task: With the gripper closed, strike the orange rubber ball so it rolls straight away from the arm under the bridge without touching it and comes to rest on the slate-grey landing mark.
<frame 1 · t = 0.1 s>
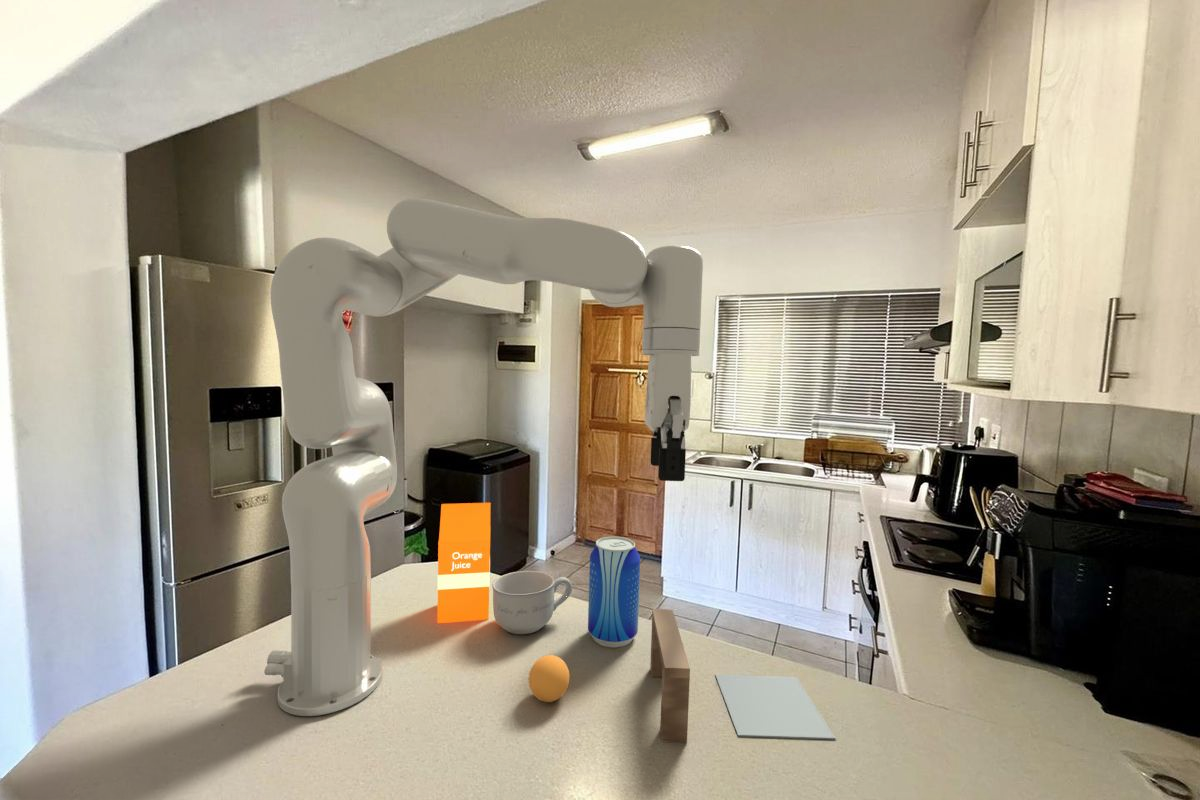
hand: (666, 472, 65), 31 cm above the counter, tool pointing down, fingers open, 9 cm apart
orange juice: (464, 611, 89), on the counter
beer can: (612, 637, 82), on the counter
ball: (549, 678, 66), on the counter
teacup: (532, 625, 85), on the counter
landing mark: (769, 704, 66), on the counter
bridge: (666, 701, 66), on the counter
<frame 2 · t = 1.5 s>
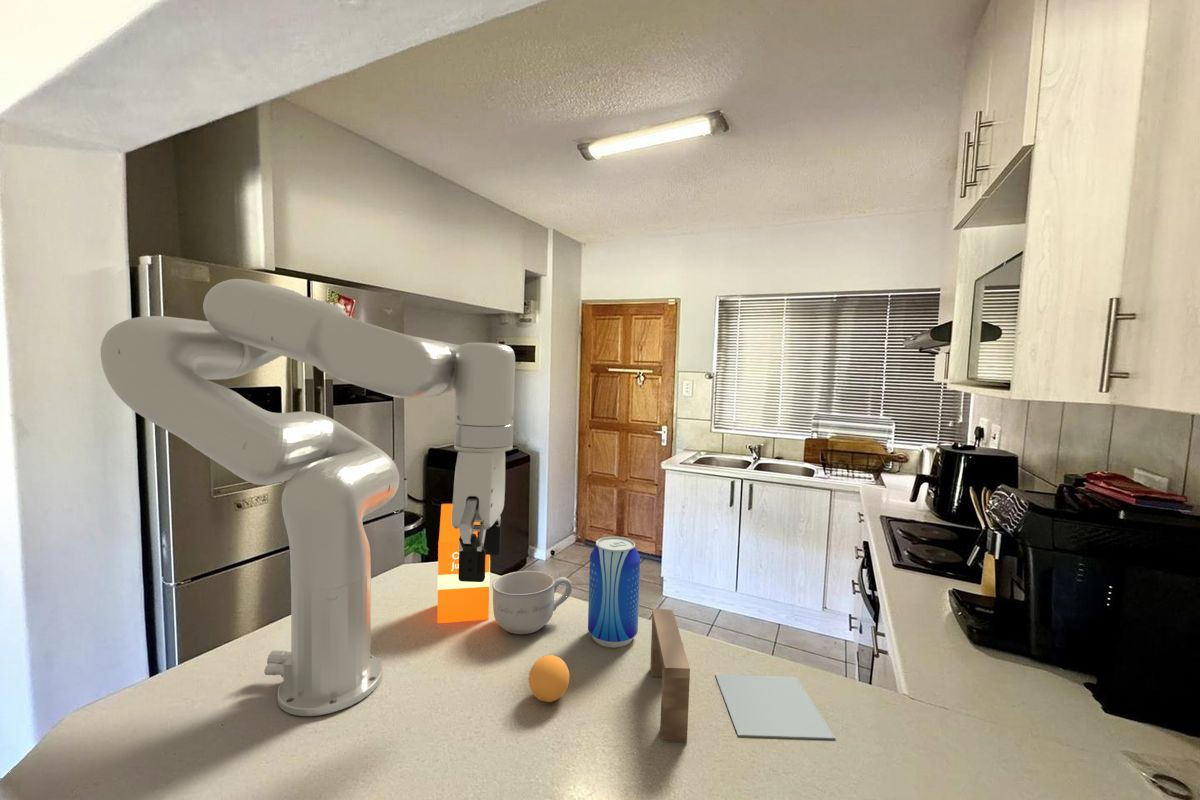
hand: (480, 566, 65), 18 cm above the counter, tool pointing down, fingers open, 8 cm apart
nothing on the counter moved.
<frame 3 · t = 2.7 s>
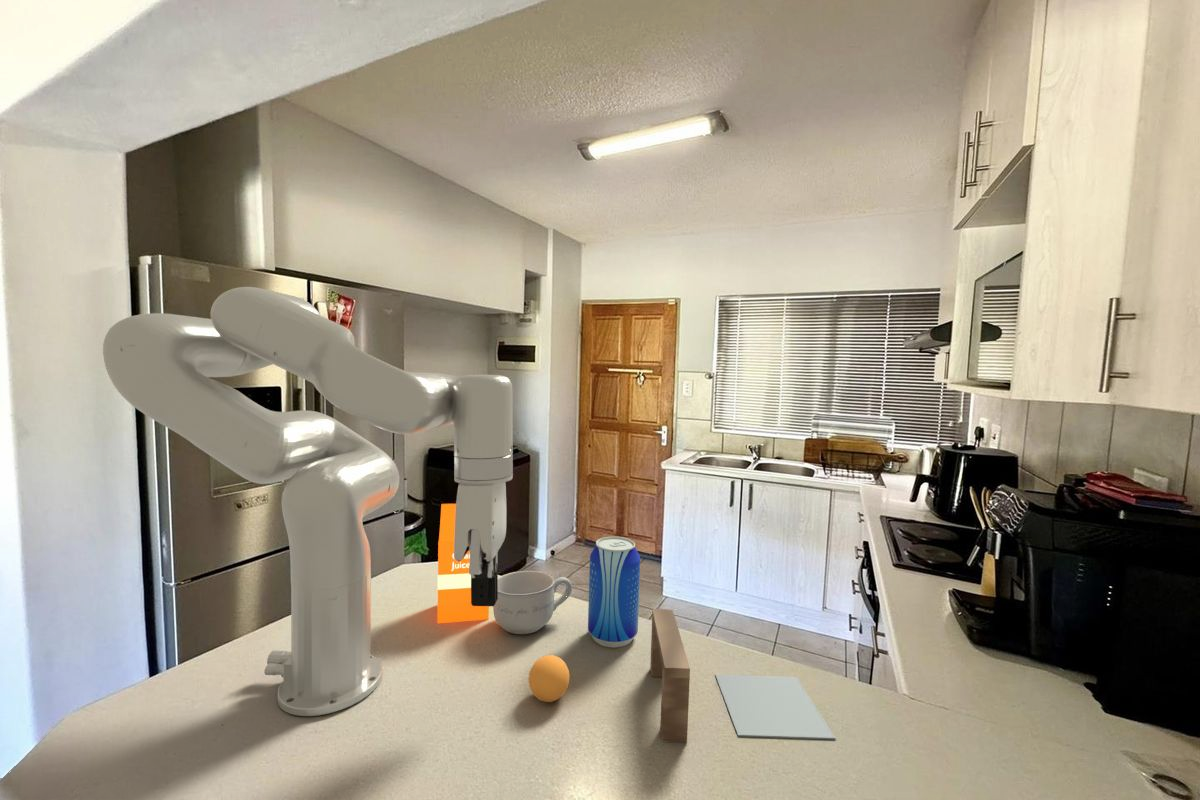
hand: (484, 603, 65), 13 cm above the counter, tool pointing down, fingers closed
nothing on the counter moved.
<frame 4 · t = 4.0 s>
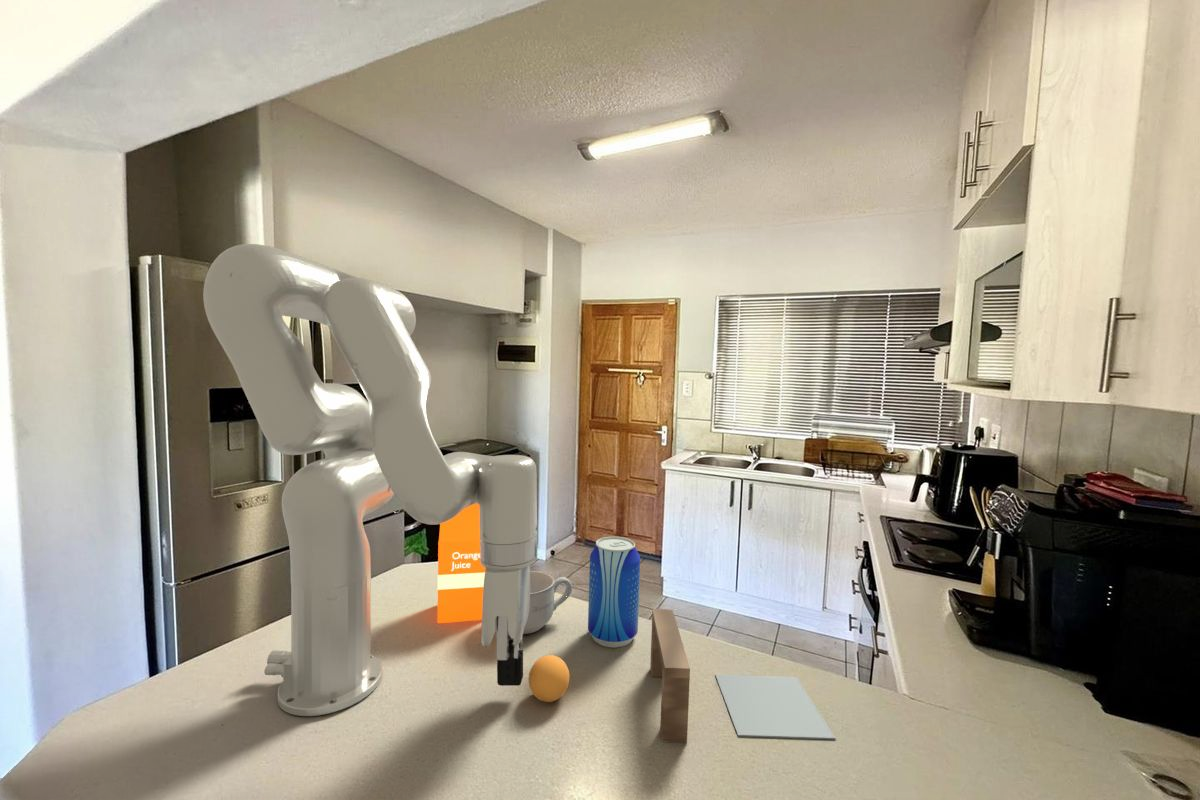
hand: (510, 681, 66), 2 cm above the counter, tool pointing down, fingers closed
nothing on the counter moved.
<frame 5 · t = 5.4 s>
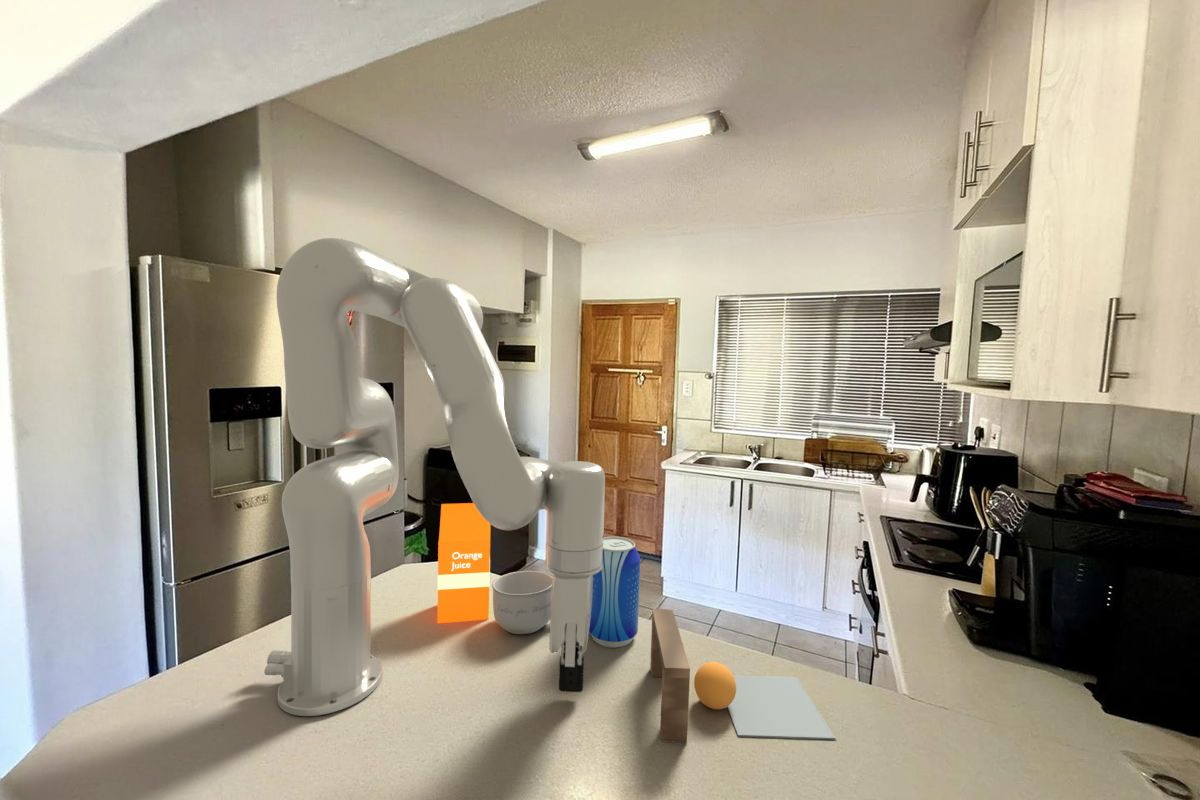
hand: (571, 687, 66), 2 cm above the counter, tool pointing down, fingers closed
ball: (714, 685, 65), on the counter
everything else where it was.
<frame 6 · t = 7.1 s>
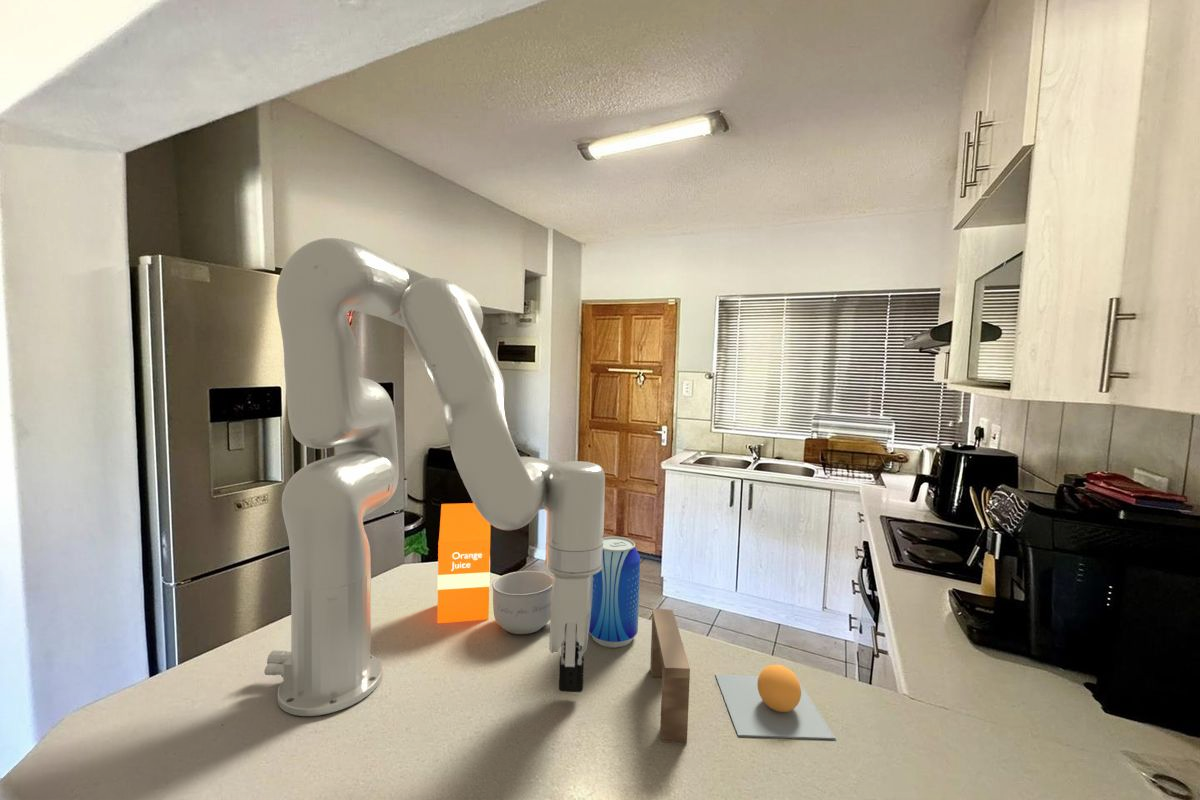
hand: (571, 687, 66), 2 cm above the counter, tool pointing down, fingers closed
ball: (778, 687, 65), on the counter
everything else where it was.
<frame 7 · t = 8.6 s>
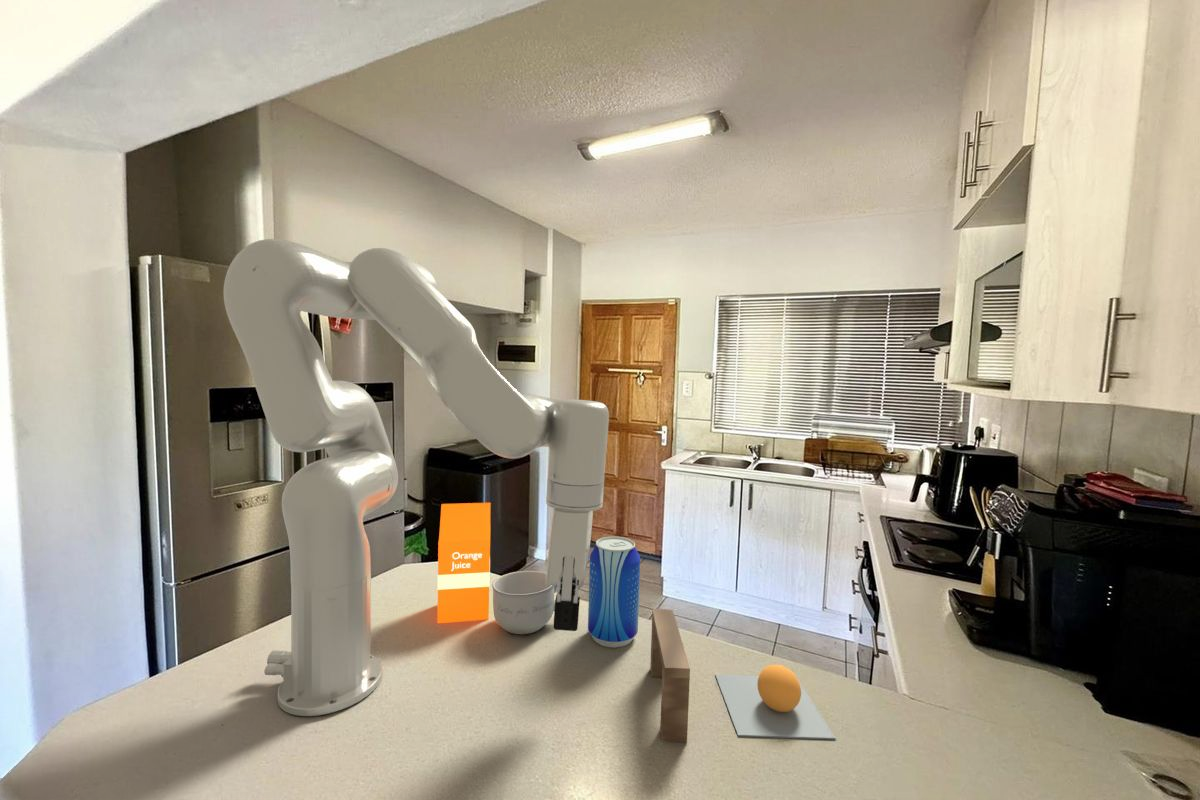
hand: (565, 627, 65), 10 cm above the counter, tool pointing down, fingers closed
nothing on the counter moved.
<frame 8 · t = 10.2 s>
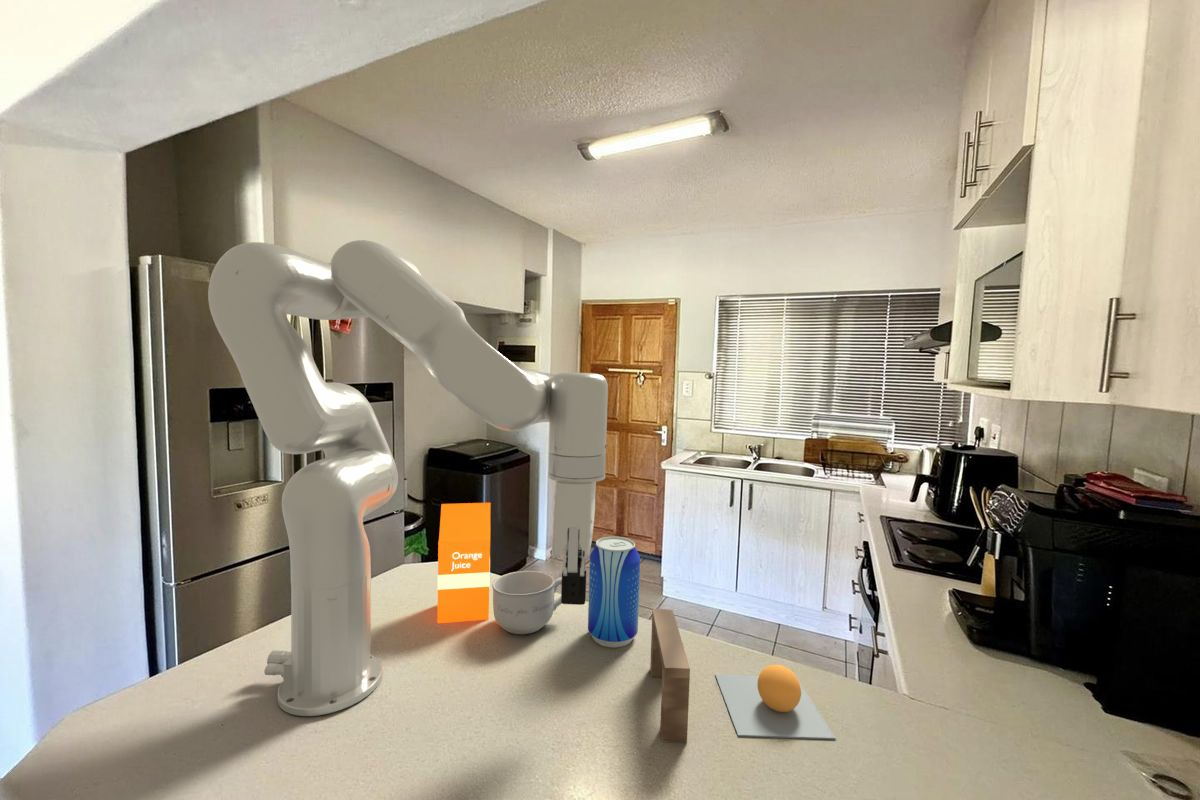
hand: (573, 601, 65), 14 cm above the counter, tool pointing down, fingers closed
nothing on the counter moved.
at the end: ball 1.0 cm from the landing mark (horizontally); ball never touched bridge; ball at rest at the end (0.0 cm/s) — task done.
